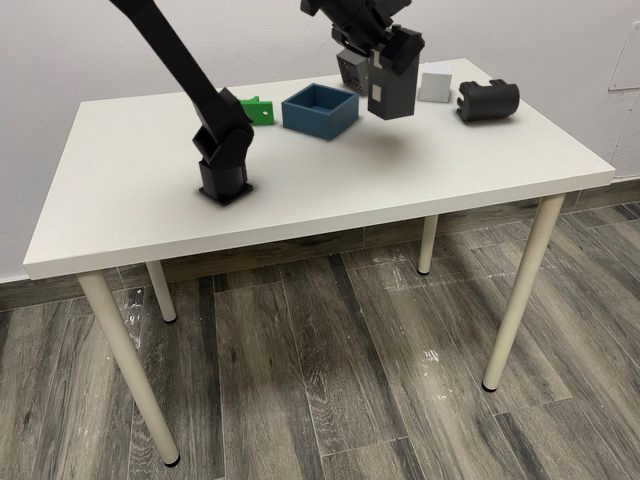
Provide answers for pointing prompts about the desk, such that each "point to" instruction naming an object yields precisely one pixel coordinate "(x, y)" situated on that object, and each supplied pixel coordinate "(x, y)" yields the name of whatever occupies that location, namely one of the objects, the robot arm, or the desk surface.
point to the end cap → (487, 100)
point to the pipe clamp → (258, 111)
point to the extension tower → (390, 87)
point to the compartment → (320, 110)
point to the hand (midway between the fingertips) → (401, 69)
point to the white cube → (436, 82)
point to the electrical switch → (354, 71)
